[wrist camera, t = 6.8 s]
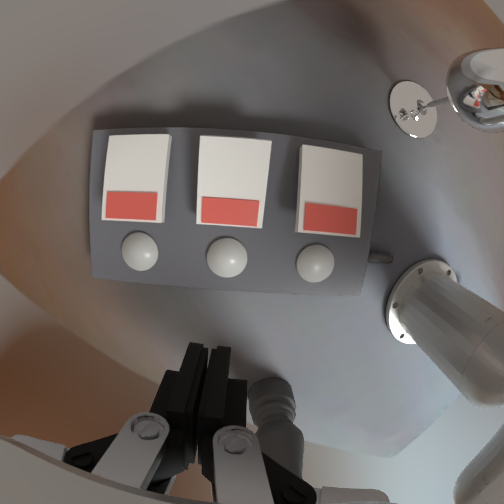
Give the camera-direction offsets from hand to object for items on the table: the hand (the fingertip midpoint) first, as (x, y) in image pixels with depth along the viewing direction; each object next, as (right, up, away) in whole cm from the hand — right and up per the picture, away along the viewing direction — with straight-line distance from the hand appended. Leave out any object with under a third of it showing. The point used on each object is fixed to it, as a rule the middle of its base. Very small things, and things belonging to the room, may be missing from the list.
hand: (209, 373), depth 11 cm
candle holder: (+4, -15, +27) cm, 31 cm away
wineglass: (+22, +23, +18) cm, 36 cm away
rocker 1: (-9, +12, +13) cm, 20 cm away
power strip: (+2, +9, +20) cm, 22 cm away
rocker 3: (+9, +10, +15) cm, 20 cm away
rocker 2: (0, +11, +14) cm, 18 cm away
